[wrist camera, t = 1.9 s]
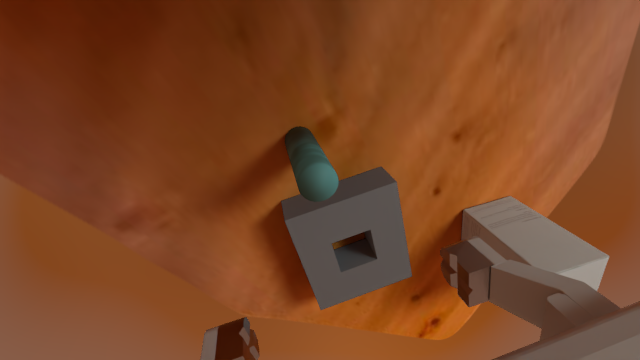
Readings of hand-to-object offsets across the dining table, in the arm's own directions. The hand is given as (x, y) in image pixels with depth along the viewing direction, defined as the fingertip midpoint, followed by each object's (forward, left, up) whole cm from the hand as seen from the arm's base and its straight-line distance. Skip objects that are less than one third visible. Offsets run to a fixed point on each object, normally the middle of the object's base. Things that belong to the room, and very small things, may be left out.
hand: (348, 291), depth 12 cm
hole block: (-3, +14, -21) cm, 25 cm away
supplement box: (-22, +21, -21) cm, 37 cm away
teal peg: (-1, +1, -21) cm, 21 cm away
